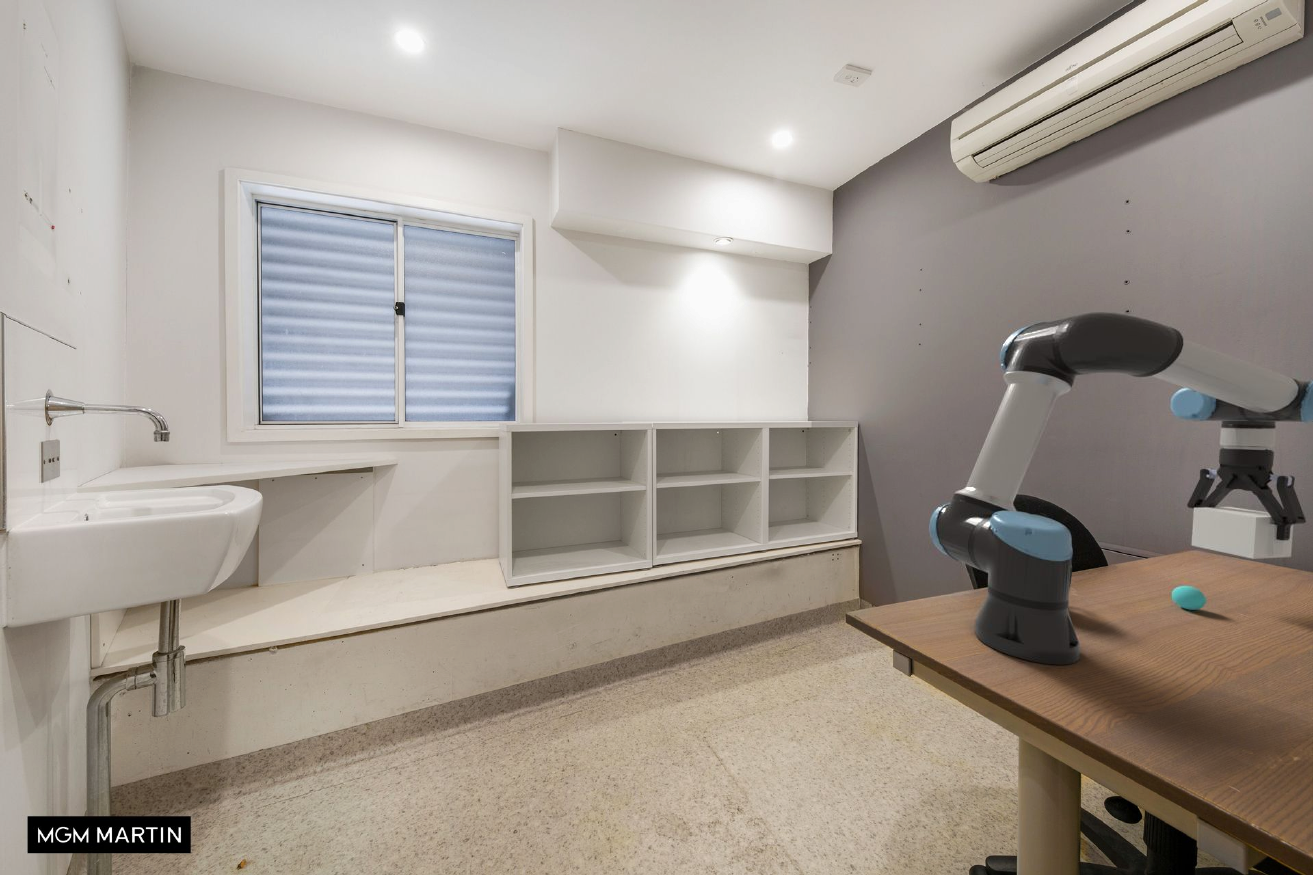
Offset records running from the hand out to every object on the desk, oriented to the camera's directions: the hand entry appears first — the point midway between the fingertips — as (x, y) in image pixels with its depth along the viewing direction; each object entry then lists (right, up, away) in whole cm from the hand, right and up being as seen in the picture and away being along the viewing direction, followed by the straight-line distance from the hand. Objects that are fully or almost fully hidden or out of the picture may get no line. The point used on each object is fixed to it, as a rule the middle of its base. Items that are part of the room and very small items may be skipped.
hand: (1239, 547), depth 105 cm
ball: (-13, -11, -2) cm, 17 cm away
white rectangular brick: (0, -1, 0) cm, 1 cm away
